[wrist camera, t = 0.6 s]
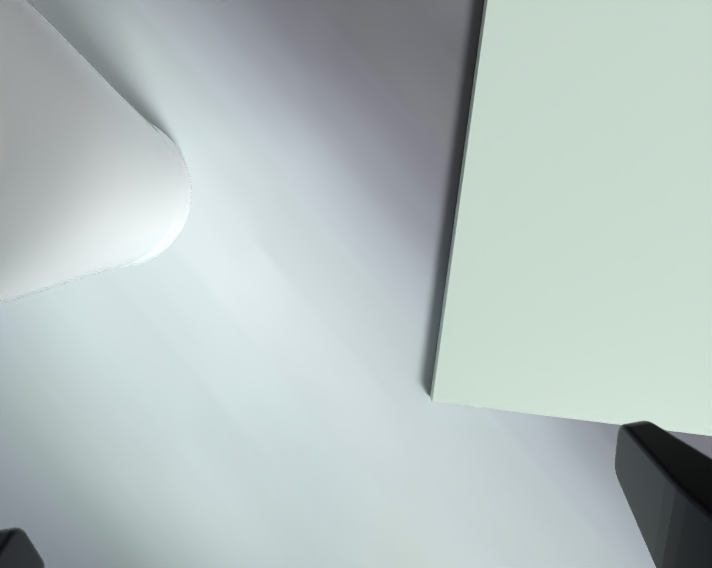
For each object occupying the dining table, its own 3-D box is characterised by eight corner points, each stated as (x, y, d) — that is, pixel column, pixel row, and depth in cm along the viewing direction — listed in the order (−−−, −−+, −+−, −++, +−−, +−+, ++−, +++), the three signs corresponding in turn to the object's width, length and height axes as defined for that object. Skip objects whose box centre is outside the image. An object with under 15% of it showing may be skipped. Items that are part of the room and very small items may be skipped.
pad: (798, 442, 23) (811, 448, 22) (429, 397, 22) (432, 401, 22) (893, -105, 22) (908, -115, 21) (506, -162, 21) (511, -174, 21)
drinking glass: (153, 322, 22) (-254, 481, 7) (-10, 222, 22) (-805, 164, 7) (252, 163, 22) (47, -28, 7) (88, 59, 21) (-513, -383, 6)
